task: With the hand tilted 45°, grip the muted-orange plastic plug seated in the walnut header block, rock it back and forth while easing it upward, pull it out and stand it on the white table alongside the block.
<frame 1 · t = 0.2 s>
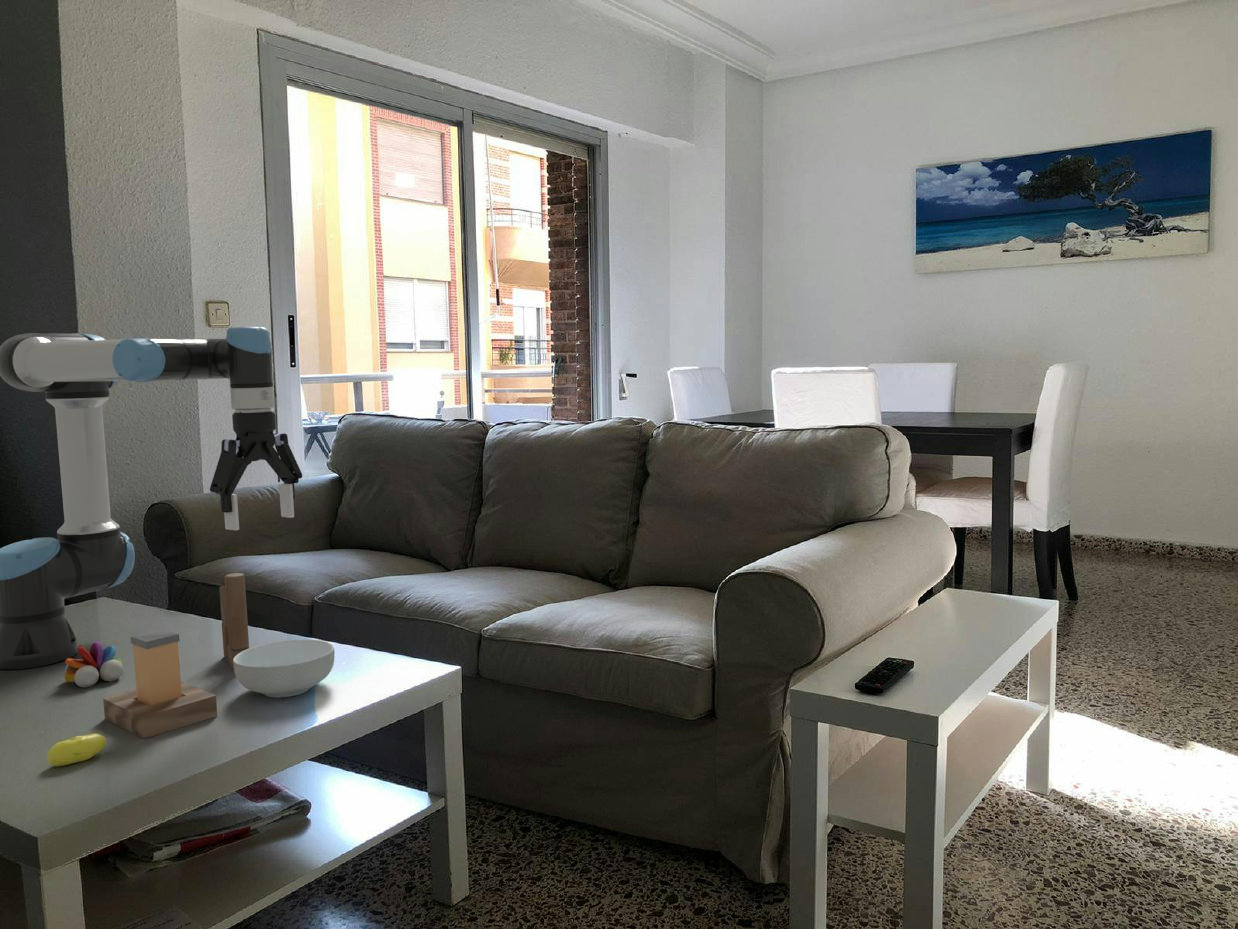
hand: (261, 523, 181), 28 cm above the table, tool pointing down, fingers open, 13 cm apart
cereal bowl: (286, 691, 171), on the table
plug: (157, 676, 158), in the header block
lemon: (78, 762, 142), on the table
rainbow petal toy: (95, 682, 179), on the table
wooden block: (237, 662, 188), on the table
header block: (161, 717, 159), on the table
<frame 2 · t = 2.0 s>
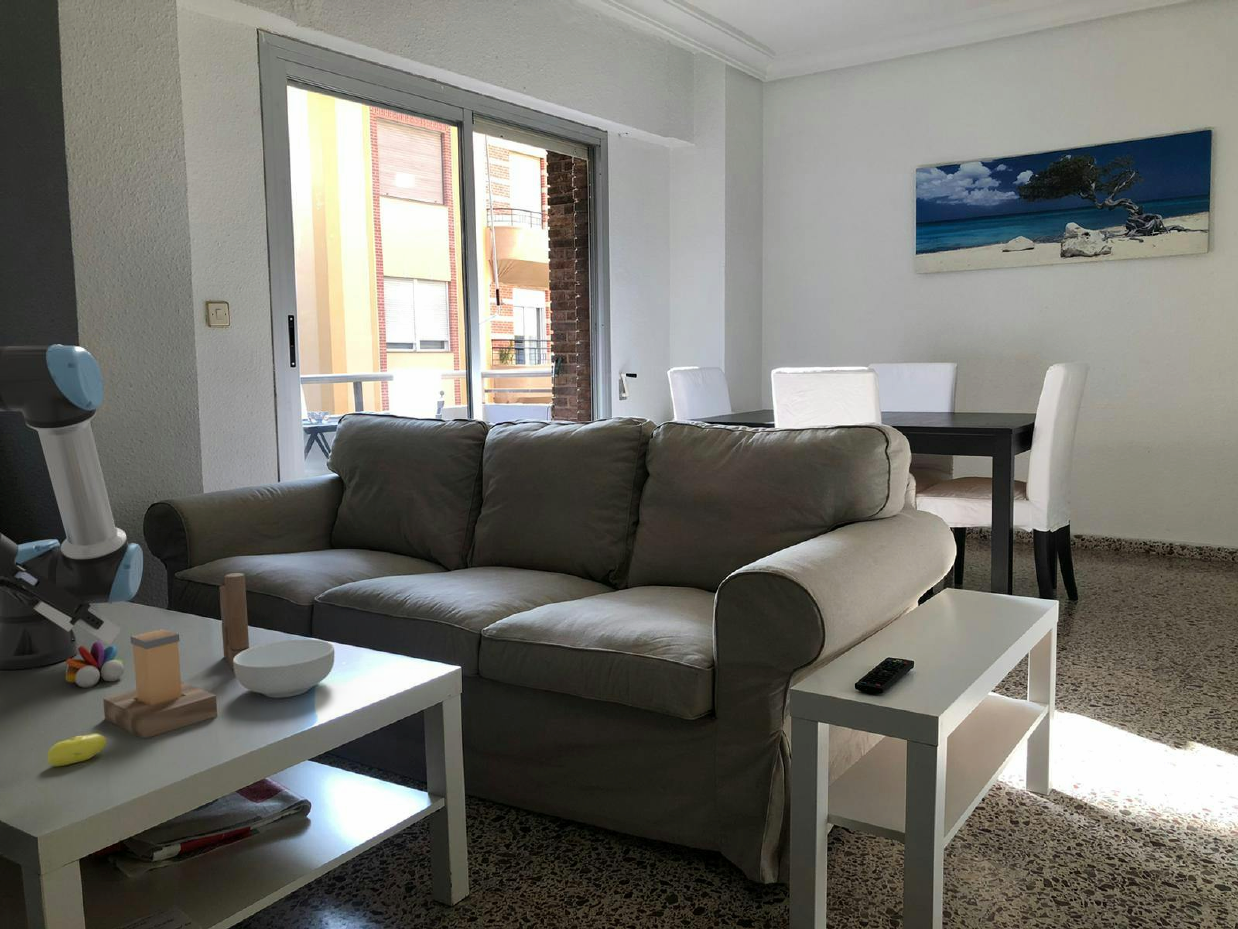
hand: (93, 630, 150), 17 cm above the table, tool tilted 45°, fingers open, 13 cm apart
nothing on the table moved.
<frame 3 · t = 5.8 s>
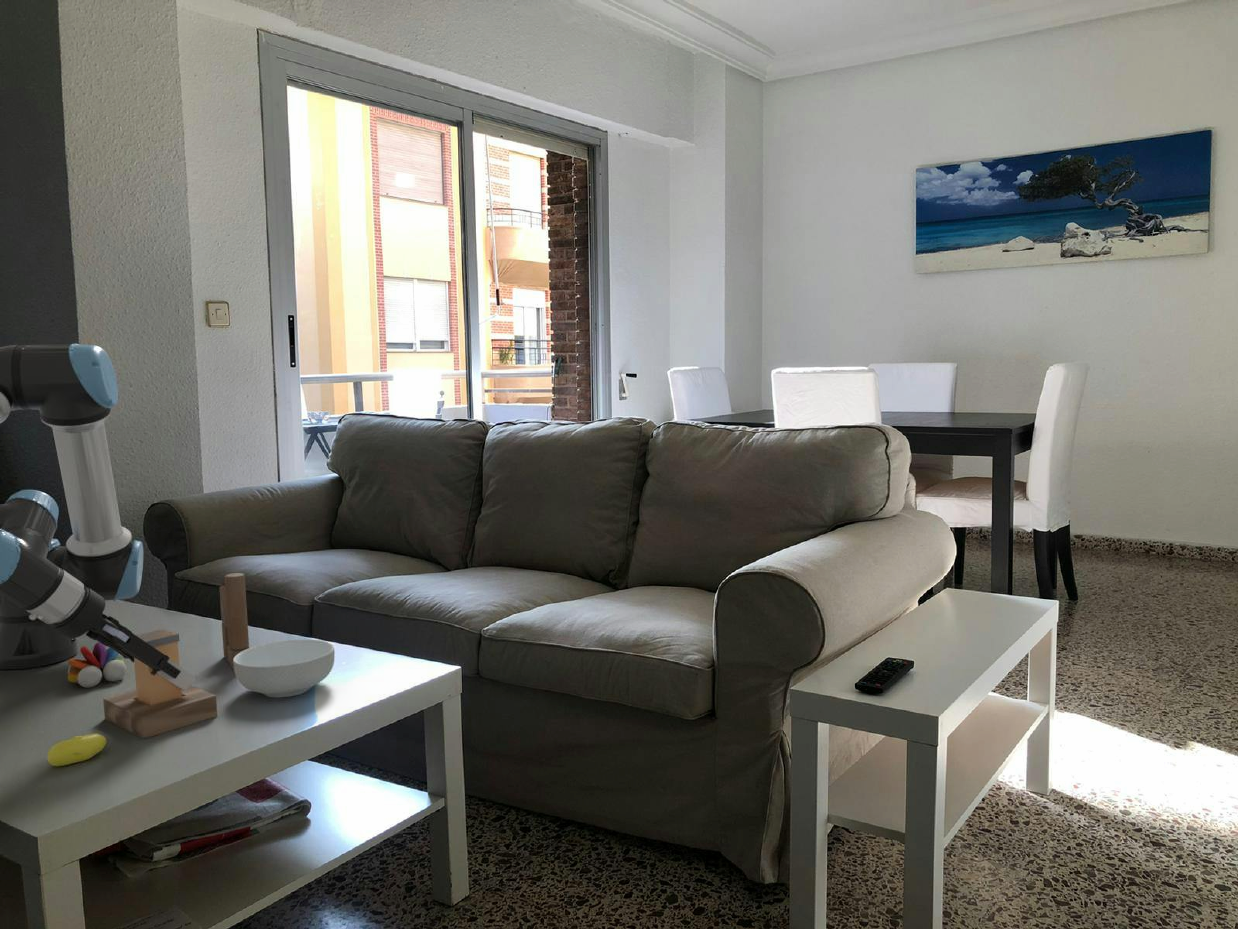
hand: (180, 680, 161), 5 cm above the table, tool tilted 45°, fingers closed on plug, 5 cm apart
plug: (157, 676, 158), in the header block, touching gripper
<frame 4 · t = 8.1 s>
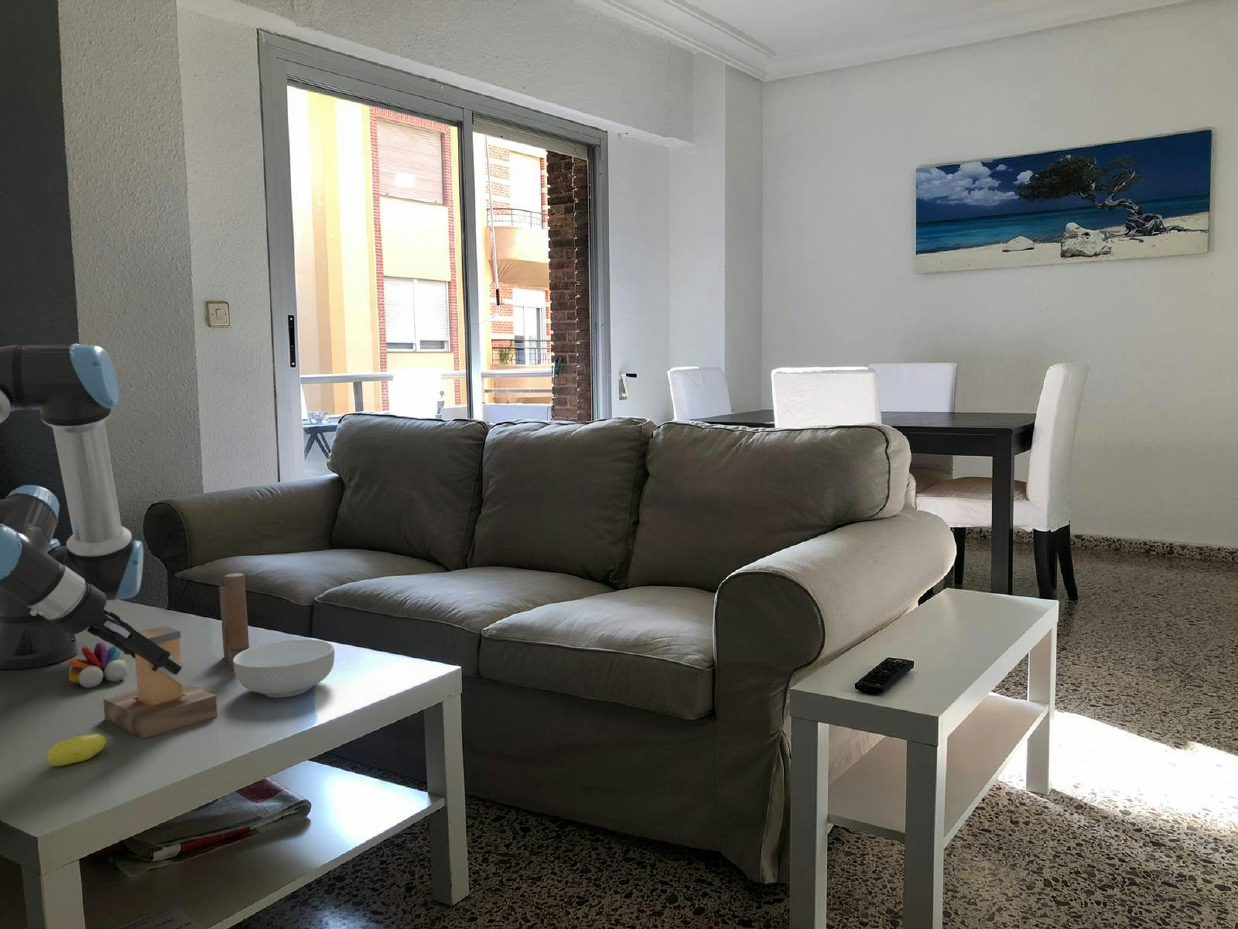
hand: (181, 676, 161), 6 cm above the table, tool tilted 45°, fingers closed on plug, 5 cm apart
plug: (158, 673, 158), in the header block, point 8 cm above the table, touching gripper
everything else where it was.
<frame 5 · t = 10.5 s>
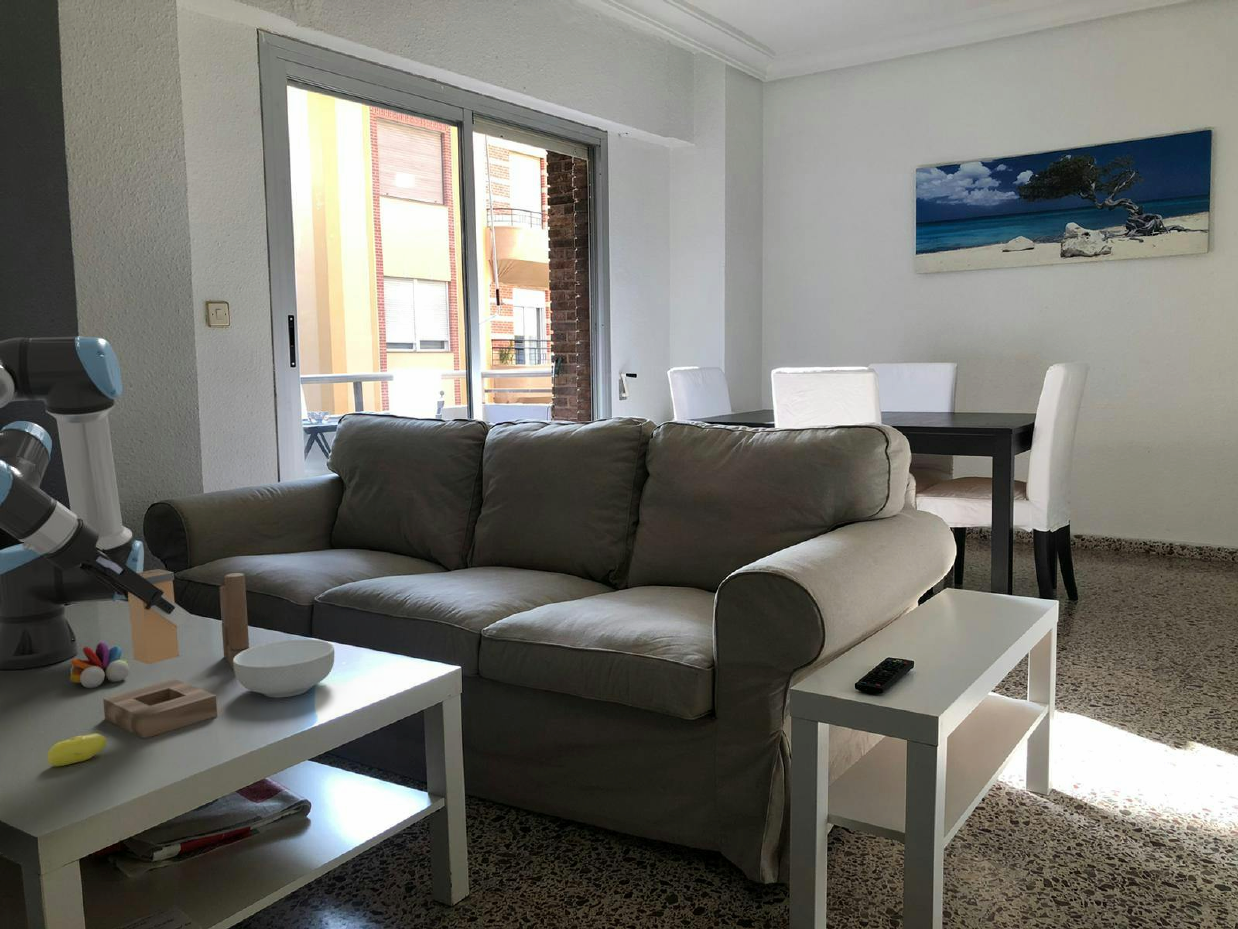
hand: (175, 617, 160), 16 cm above the table, tool tilted 45°, fingers closed on plug, 5 cm apart
plug: (152, 616, 157), point 17 cm above the table, touching gripper
when the fingers open (7 cm above the table, at t = 14.6 s): plug stays where it is, on the table.
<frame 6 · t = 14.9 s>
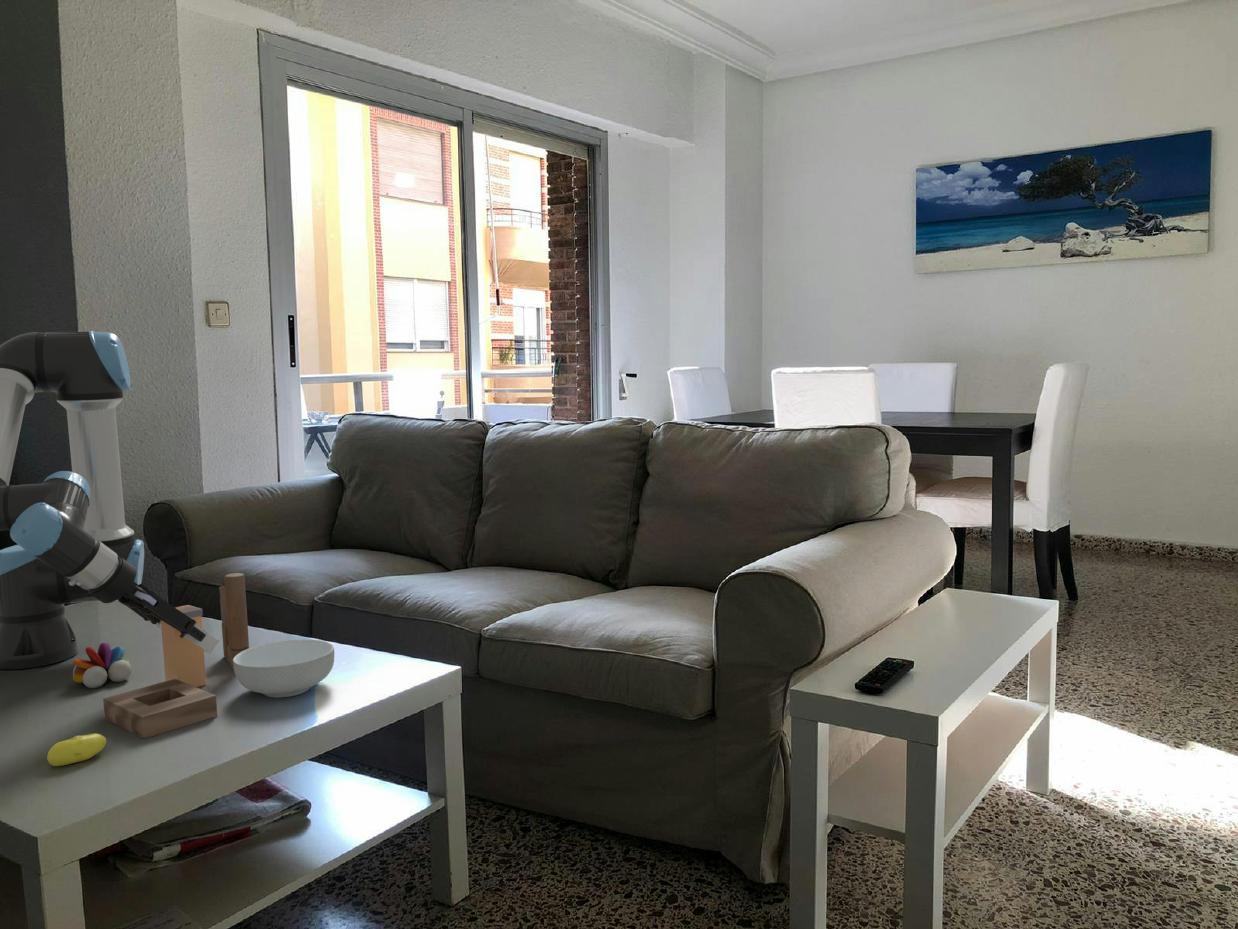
hand: (201, 642, 176), 7 cm above the table, tool tilted 45°, fingers open, 8 cm apart
plug: (183, 648, 174), on the table
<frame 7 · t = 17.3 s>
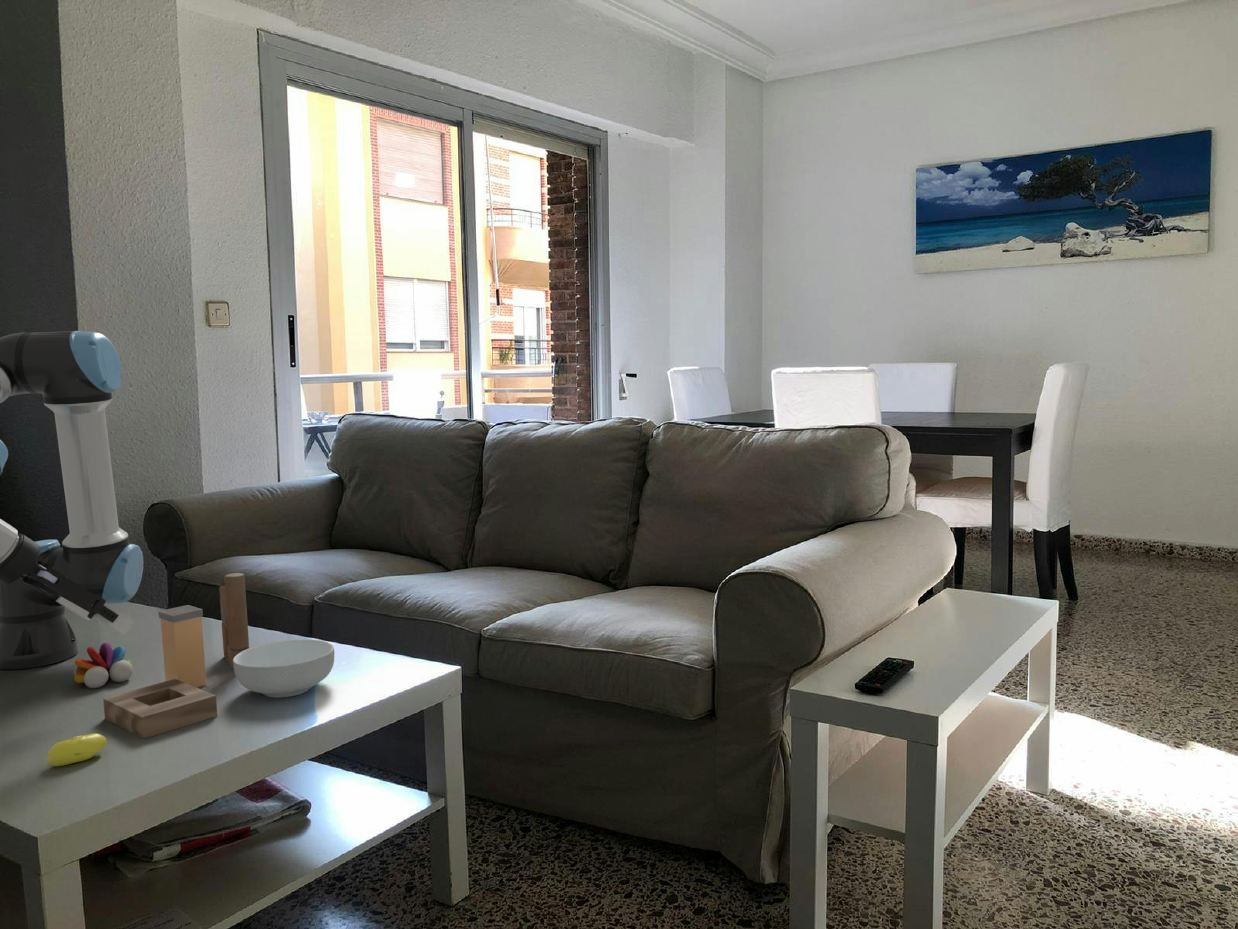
hand: (110, 621, 163), 15 cm above the table, tool tilted 45°, fingers open, 13 cm apart
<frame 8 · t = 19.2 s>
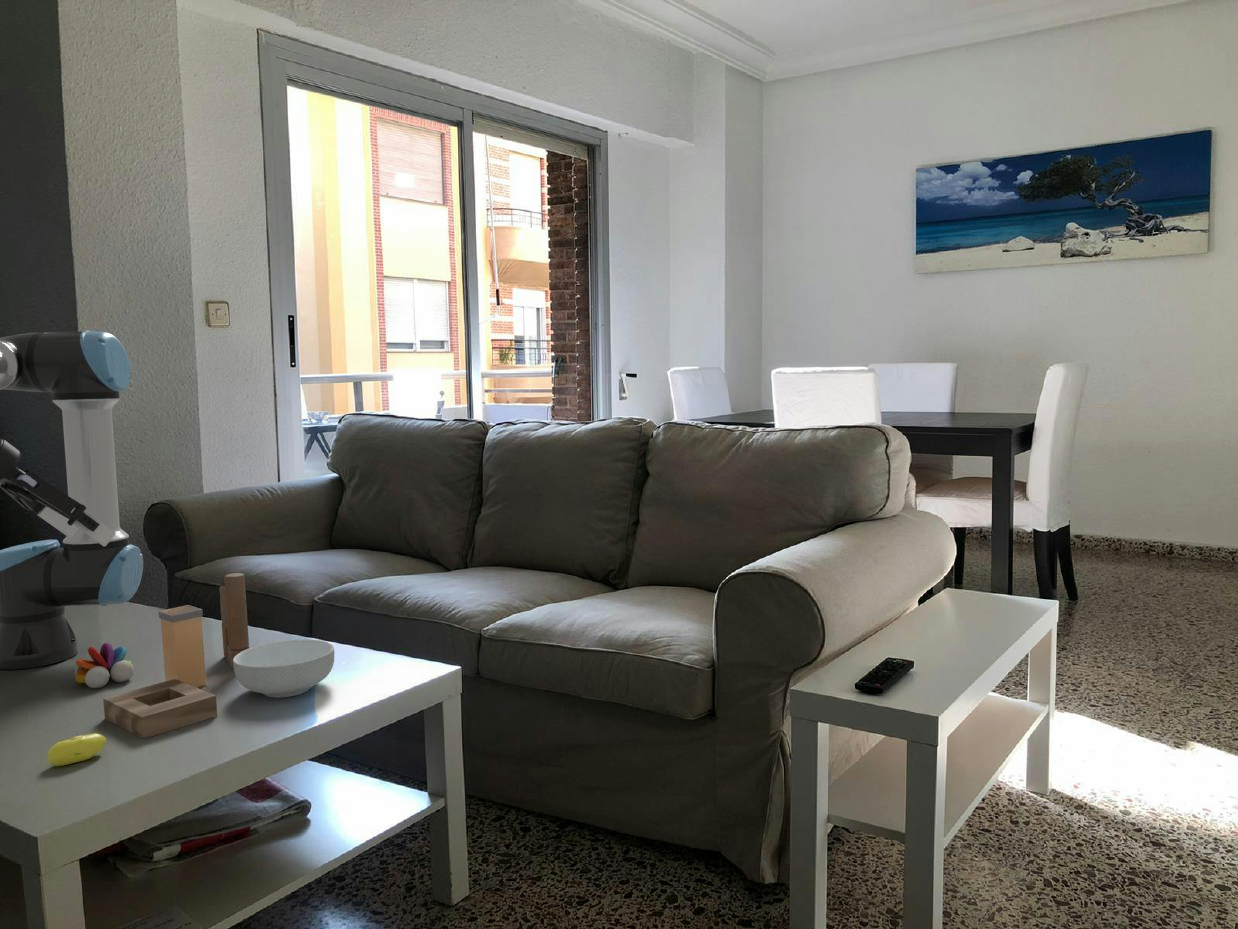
hand: (92, 535, 161), 30 cm above the table, tool tilted 45°, fingers open, 13 cm apart
at the end: plug inside the target area (0.1 cm from its centre), on the table; plug touching table; plug tilted 0° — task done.
